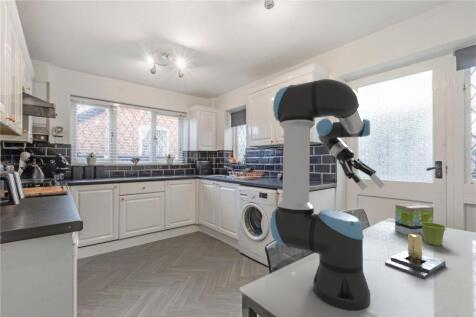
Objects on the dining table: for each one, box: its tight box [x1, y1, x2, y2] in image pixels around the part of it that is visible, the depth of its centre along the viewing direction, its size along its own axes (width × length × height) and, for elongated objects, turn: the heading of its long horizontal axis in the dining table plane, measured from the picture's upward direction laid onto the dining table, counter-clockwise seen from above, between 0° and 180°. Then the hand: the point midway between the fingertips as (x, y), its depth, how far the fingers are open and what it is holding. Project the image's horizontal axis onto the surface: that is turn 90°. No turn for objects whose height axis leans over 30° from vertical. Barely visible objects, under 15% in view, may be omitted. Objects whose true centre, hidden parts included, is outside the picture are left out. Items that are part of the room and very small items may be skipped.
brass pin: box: [407, 234, 423, 265], centre depth 83 cm, size 4×4×11 cm
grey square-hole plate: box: [384, 259, 442, 280], centre depth 82 cm, size 14×12×1 cm
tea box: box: [394, 203, 435, 236], centre depth 122 cm, size 15×10×15 cm, turn 105°
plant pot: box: [420, 222, 447, 246], centre depth 106 cm, size 9×9×9 cm
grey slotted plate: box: [390, 249, 447, 273], centre depth 84 cm, size 14×12×2 cm
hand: (374, 187), depth 96 cm, fingers open, 13 cm apart
